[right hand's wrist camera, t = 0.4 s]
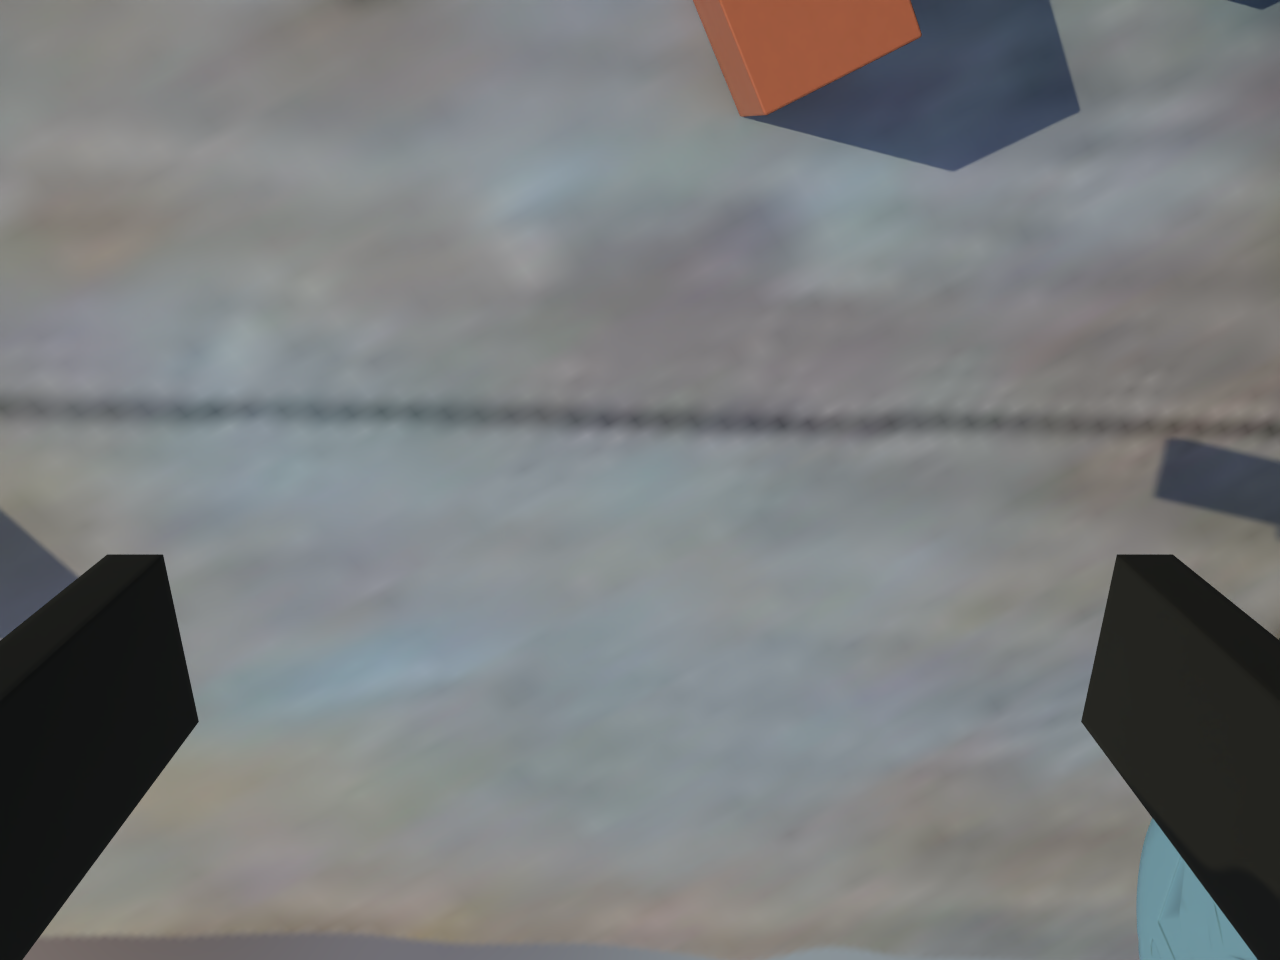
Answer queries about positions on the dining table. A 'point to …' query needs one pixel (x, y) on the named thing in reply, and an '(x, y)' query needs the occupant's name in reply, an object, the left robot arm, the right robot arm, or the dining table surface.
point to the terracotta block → (799, 44)
